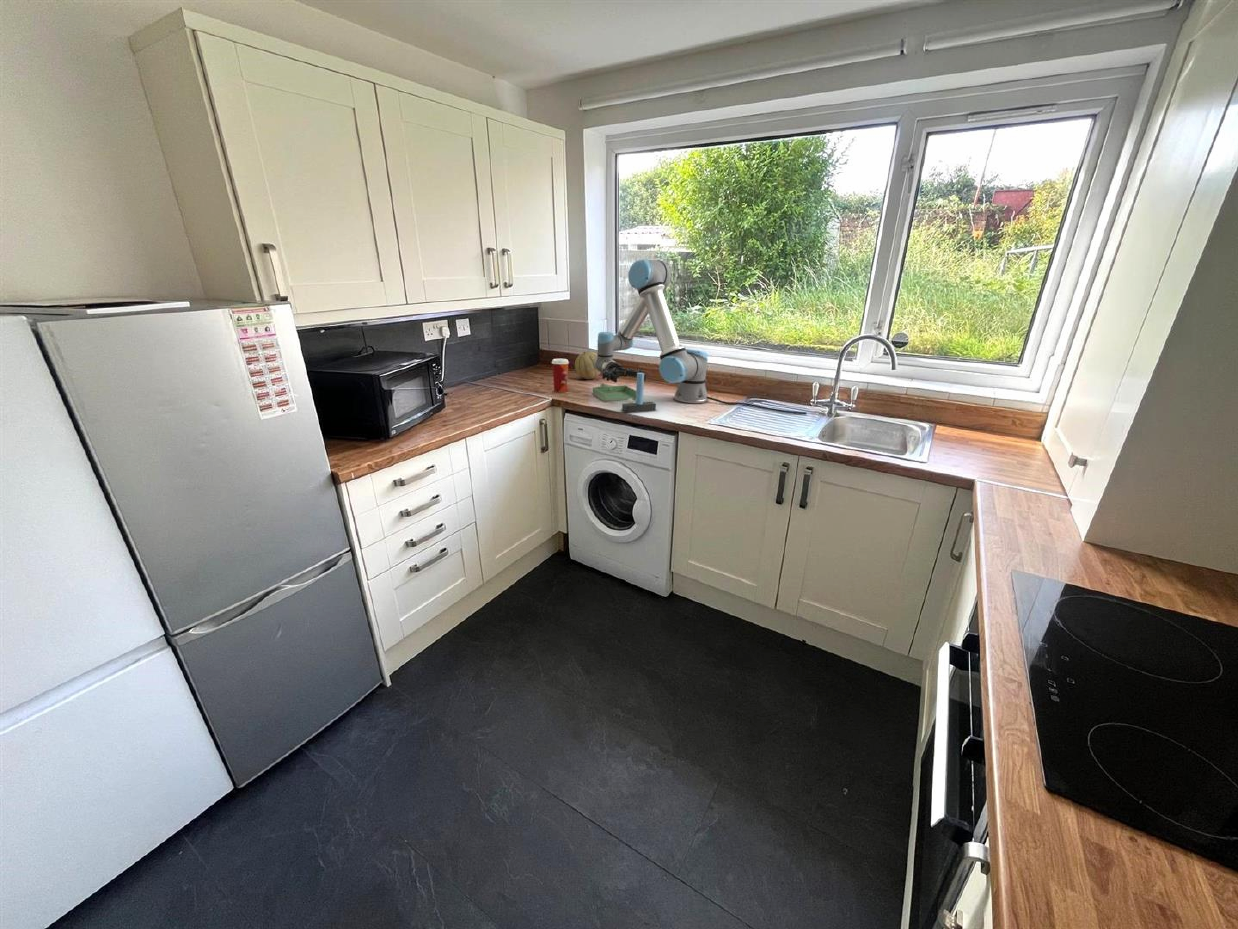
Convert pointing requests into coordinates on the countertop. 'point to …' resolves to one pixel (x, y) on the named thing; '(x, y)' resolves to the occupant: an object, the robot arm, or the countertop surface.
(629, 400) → the crumb ball
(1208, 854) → the countertop surface
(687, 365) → the robot arm
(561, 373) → the coffee cup
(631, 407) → the wiper
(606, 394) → the green tray
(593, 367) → the cantaloupe
